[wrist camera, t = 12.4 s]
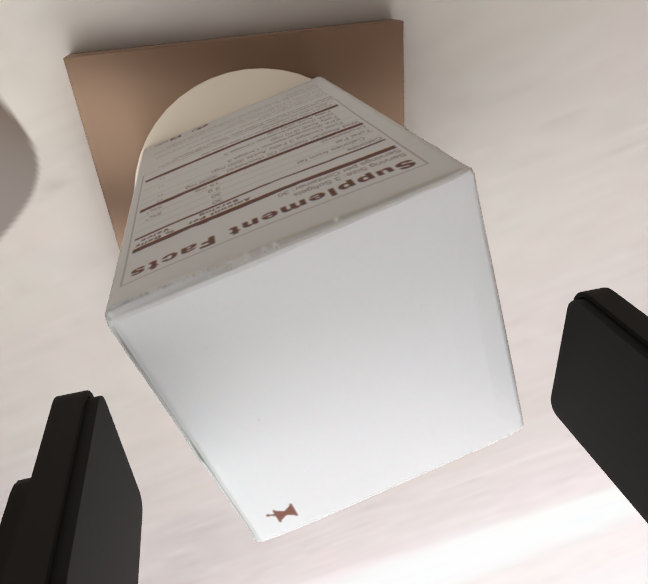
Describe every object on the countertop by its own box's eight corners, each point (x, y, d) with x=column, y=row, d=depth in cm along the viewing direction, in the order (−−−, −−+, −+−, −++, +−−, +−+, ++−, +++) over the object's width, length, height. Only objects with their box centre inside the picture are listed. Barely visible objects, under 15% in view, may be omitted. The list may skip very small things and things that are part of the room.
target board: (69, 54, 20) (62, 58, 18) (392, 19, 21) (404, 21, 20) (150, 334, 26) (148, 350, 24) (396, 287, 27) (406, 300, 26)
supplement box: (375, 237, 24) (533, 438, 14) (218, 301, 24) (251, 558, 13) (324, 67, 20) (487, 160, 10) (135, 142, 20) (88, 323, 9)
